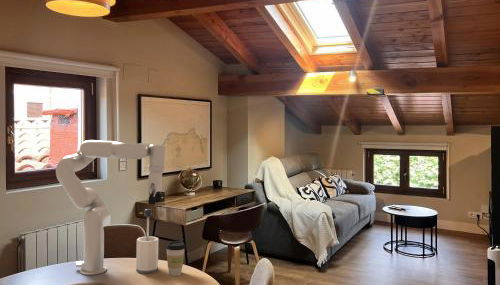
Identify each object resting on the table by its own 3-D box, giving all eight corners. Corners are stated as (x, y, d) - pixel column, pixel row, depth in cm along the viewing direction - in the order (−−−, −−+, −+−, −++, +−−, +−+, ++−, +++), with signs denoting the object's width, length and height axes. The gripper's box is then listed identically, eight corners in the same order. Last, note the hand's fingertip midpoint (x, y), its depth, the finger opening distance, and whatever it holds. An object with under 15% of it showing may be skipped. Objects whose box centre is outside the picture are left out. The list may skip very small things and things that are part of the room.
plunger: (138, 247, 208) (139, 210, 208) (142, 243, 215) (143, 208, 215) (152, 247, 208) (153, 211, 207) (156, 243, 215) (157, 208, 214)
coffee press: (133, 273, 207) (134, 241, 206) (141, 265, 219) (141, 235, 219) (154, 274, 206) (155, 242, 206) (161, 265, 219) (161, 235, 219)
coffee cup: (180, 277, 203) (181, 247, 202) (161, 275, 205) (162, 245, 204) (187, 271, 212) (188, 241, 212) (169, 269, 214) (170, 240, 214)
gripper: (153, 167, 218) (152, 199, 219) (143, 170, 201) (141, 205, 201) (168, 168, 218) (166, 200, 218) (159, 171, 201) (157, 206, 201)
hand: (154, 202), depth 210 cm, fingers open, 9 cm apart
